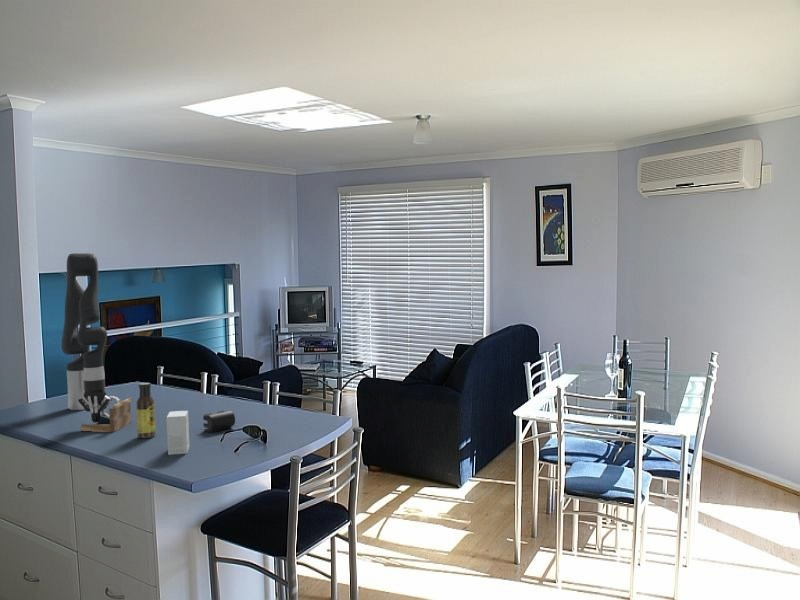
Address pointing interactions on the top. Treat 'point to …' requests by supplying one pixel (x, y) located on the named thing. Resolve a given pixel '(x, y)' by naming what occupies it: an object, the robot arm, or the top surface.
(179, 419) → the small box
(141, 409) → the sauce bottle
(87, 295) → the robot arm
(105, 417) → the watch
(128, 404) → the display stand
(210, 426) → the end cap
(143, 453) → the top surface
